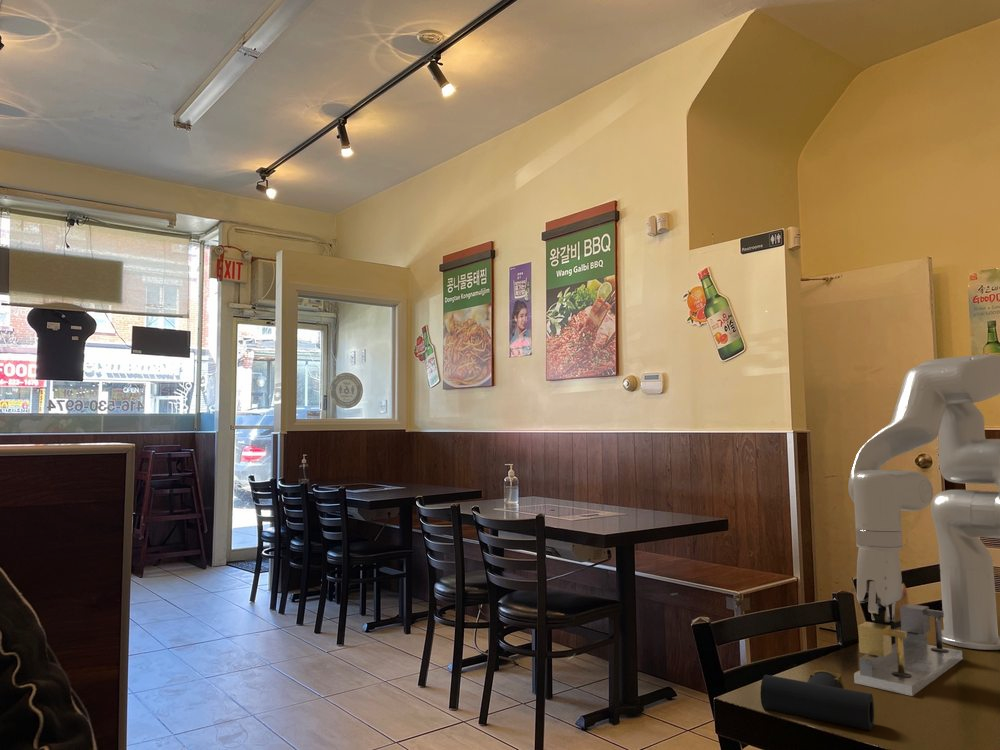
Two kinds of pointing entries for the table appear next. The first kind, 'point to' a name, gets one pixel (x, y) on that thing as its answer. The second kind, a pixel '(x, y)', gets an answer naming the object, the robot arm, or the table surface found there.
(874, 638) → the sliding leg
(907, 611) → the fixed leg
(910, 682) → the bolt plate
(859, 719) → the pipe connector
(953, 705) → the table surface
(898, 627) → the ammunition clip
